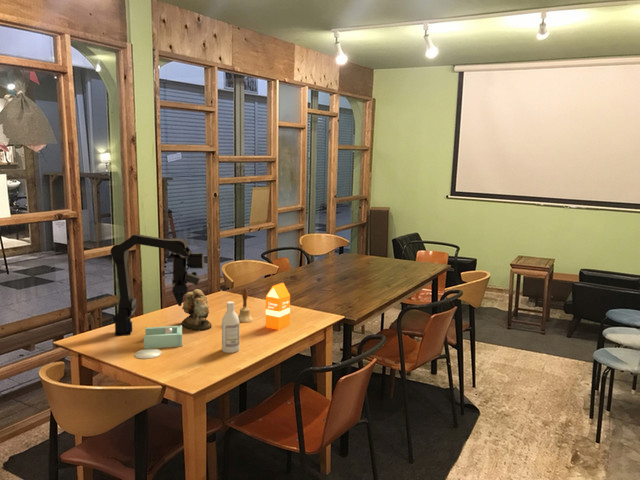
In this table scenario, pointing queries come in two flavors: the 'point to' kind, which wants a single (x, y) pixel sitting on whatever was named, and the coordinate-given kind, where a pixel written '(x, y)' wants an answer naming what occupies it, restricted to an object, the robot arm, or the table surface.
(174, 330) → the c link
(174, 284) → the robot arm
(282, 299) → the orange juice
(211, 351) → the table surface
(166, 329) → the peg
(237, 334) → the bath foam
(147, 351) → the cream oval dome
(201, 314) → the owl figurine
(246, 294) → the hand bell
